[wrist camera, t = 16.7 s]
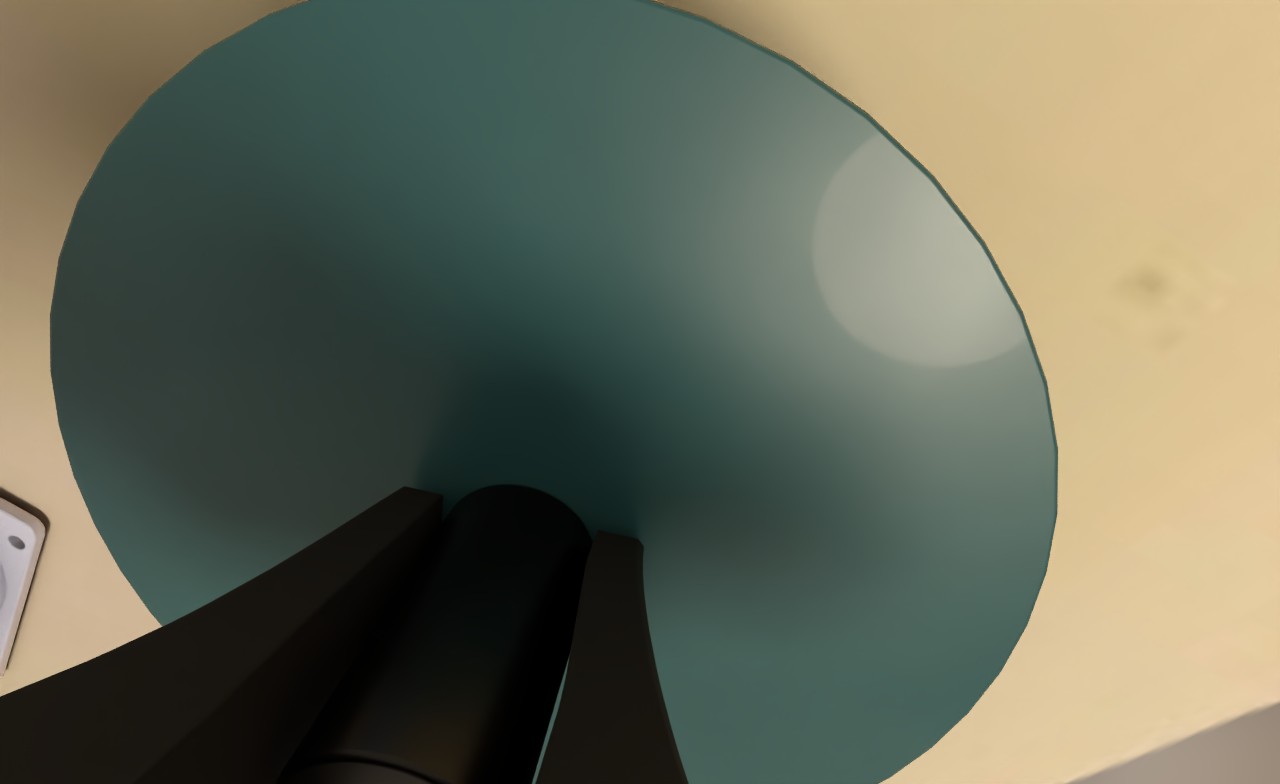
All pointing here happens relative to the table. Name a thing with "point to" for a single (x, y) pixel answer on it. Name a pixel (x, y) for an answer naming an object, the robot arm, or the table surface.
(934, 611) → the tin lid
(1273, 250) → the table surface
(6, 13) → the table surface
